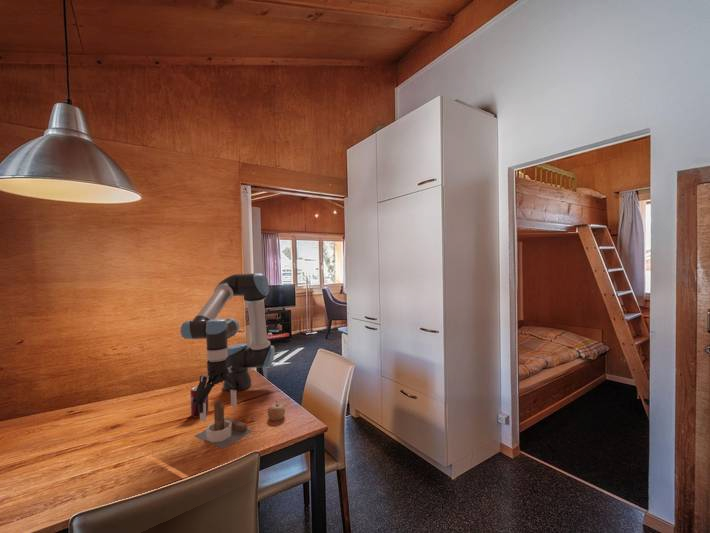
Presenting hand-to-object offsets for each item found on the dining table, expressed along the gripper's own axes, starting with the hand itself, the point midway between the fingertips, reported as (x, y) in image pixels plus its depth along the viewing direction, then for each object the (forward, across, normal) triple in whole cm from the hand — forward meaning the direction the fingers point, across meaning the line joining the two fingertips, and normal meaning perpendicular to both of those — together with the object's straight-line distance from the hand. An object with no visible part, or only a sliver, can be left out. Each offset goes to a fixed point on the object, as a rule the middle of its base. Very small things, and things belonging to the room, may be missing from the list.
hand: (219, 412), depth 124 cm
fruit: (+10, -21, +9) cm, 25 cm away
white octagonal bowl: (+9, 0, 0) cm, 9 cm away
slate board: (+10, -2, 0) cm, 10 cm away
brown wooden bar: (+8, 0, 0) cm, 8 cm away
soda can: (+10, -9, -27) cm, 30 cm away
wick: (+9, -7, 0) cm, 11 cm away
